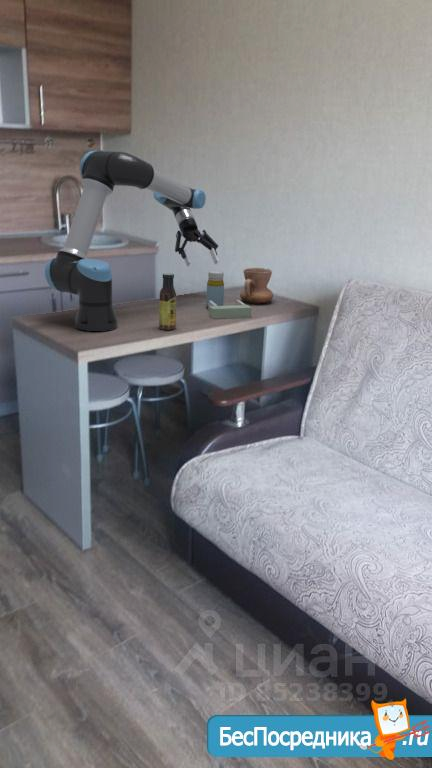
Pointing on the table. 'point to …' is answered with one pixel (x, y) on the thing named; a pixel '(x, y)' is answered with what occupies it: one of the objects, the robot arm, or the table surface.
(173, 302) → the sauce bottle
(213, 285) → the bottle
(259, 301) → the ceramic jug
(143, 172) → the robot arm
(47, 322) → the table surface
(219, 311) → the green-backed grey tray
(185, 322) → the table surface
